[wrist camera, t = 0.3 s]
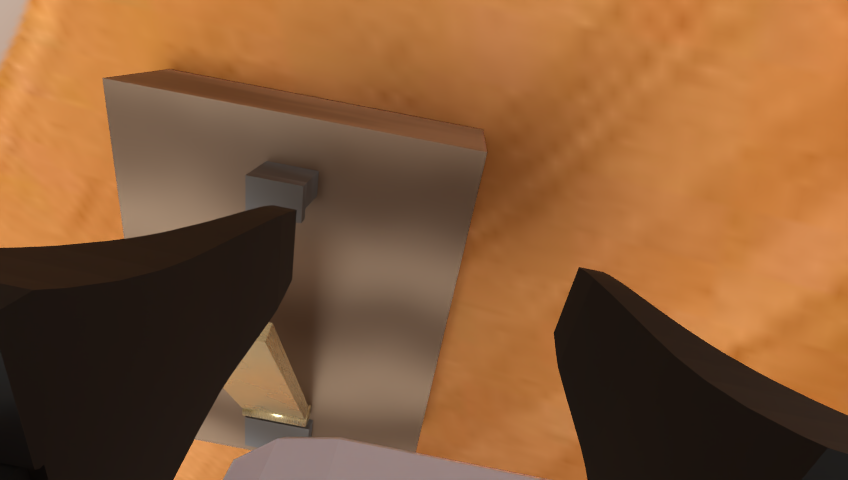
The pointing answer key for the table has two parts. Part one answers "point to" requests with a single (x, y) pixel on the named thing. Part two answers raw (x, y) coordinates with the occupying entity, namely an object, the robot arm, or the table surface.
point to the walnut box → (314, 233)
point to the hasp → (268, 383)
